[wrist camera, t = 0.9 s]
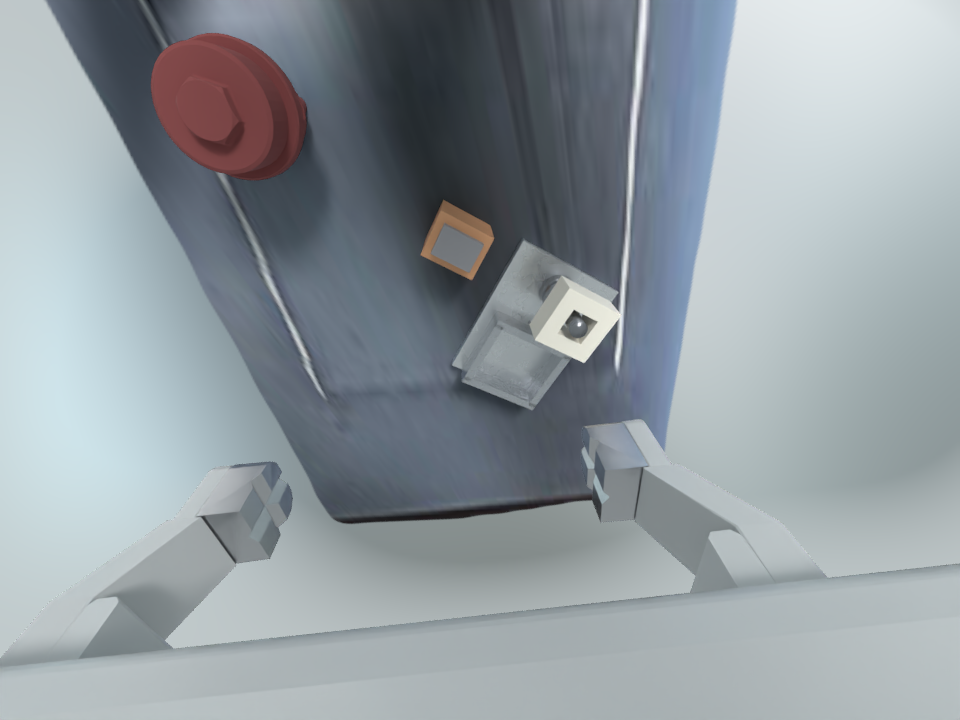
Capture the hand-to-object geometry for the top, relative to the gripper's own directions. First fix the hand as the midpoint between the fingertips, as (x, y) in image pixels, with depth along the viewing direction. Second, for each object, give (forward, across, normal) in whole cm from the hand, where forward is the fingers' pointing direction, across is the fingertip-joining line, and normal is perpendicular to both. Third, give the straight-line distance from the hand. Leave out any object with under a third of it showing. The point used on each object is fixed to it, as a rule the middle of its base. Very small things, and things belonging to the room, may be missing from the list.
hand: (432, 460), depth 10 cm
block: (+39, 0, +3) cm, 39 cm away
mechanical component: (+39, +16, -11) cm, 43 cm away
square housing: (+31, -12, +11) cm, 35 cm away
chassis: (+39, -8, +16) cm, 43 cm away
